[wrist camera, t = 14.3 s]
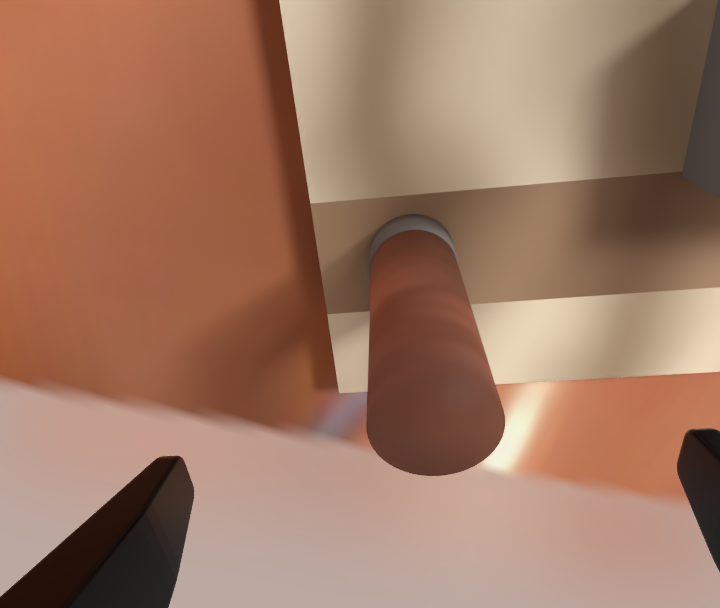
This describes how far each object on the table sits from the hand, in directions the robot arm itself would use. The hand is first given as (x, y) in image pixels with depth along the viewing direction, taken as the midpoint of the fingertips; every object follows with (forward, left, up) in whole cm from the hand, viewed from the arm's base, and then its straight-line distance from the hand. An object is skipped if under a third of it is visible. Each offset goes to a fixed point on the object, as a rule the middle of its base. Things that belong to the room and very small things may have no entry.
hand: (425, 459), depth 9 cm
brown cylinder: (0, 0, -9) cm, 9 cm away
